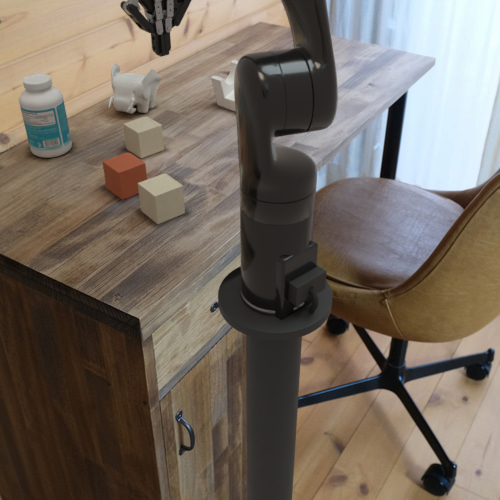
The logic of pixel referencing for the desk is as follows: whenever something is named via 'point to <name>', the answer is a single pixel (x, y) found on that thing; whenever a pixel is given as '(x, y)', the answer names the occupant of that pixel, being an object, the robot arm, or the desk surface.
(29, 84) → the pill bottle
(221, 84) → the bracket
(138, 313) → the desk surface
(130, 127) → the far block
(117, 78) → the elephant figurine
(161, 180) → the near block
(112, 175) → the block
